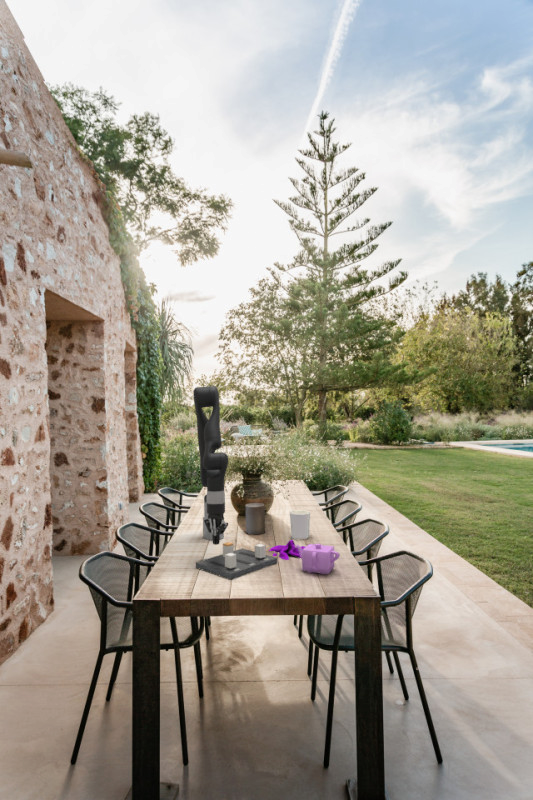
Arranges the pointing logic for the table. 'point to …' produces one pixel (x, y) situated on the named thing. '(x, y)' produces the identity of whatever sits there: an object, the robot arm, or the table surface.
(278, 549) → the cloth
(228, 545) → the block
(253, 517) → the pillar candle
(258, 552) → the block
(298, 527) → the candle holder
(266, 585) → the table surface
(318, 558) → the teapot
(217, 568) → the panel
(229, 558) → the breaker
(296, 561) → the table surface
